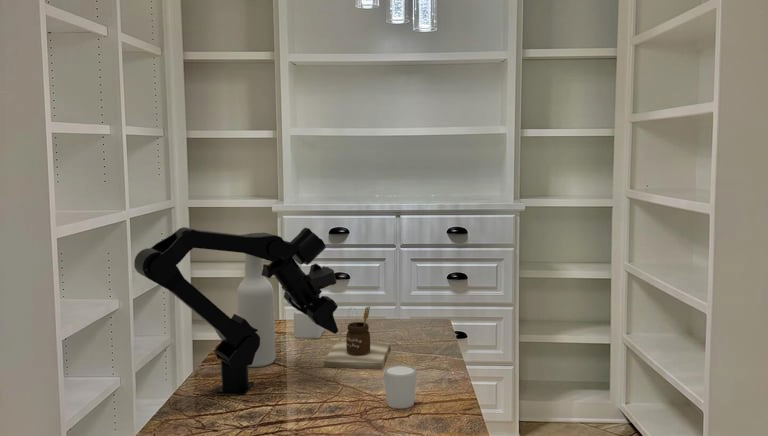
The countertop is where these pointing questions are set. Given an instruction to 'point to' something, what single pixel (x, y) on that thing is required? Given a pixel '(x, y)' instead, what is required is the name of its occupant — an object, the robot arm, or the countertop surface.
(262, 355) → the alcohol
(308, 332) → the medicine bottle
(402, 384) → the white cup
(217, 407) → the countertop surface
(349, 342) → the utensil holder
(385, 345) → the ash cloth
